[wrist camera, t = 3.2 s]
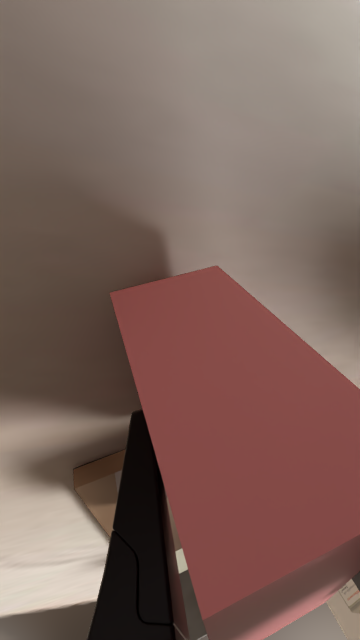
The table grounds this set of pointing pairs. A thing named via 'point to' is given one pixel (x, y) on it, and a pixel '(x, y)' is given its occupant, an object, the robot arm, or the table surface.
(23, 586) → the table surface
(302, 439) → the tall dusty pink block
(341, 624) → the ink cartridge box
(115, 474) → the shelf
